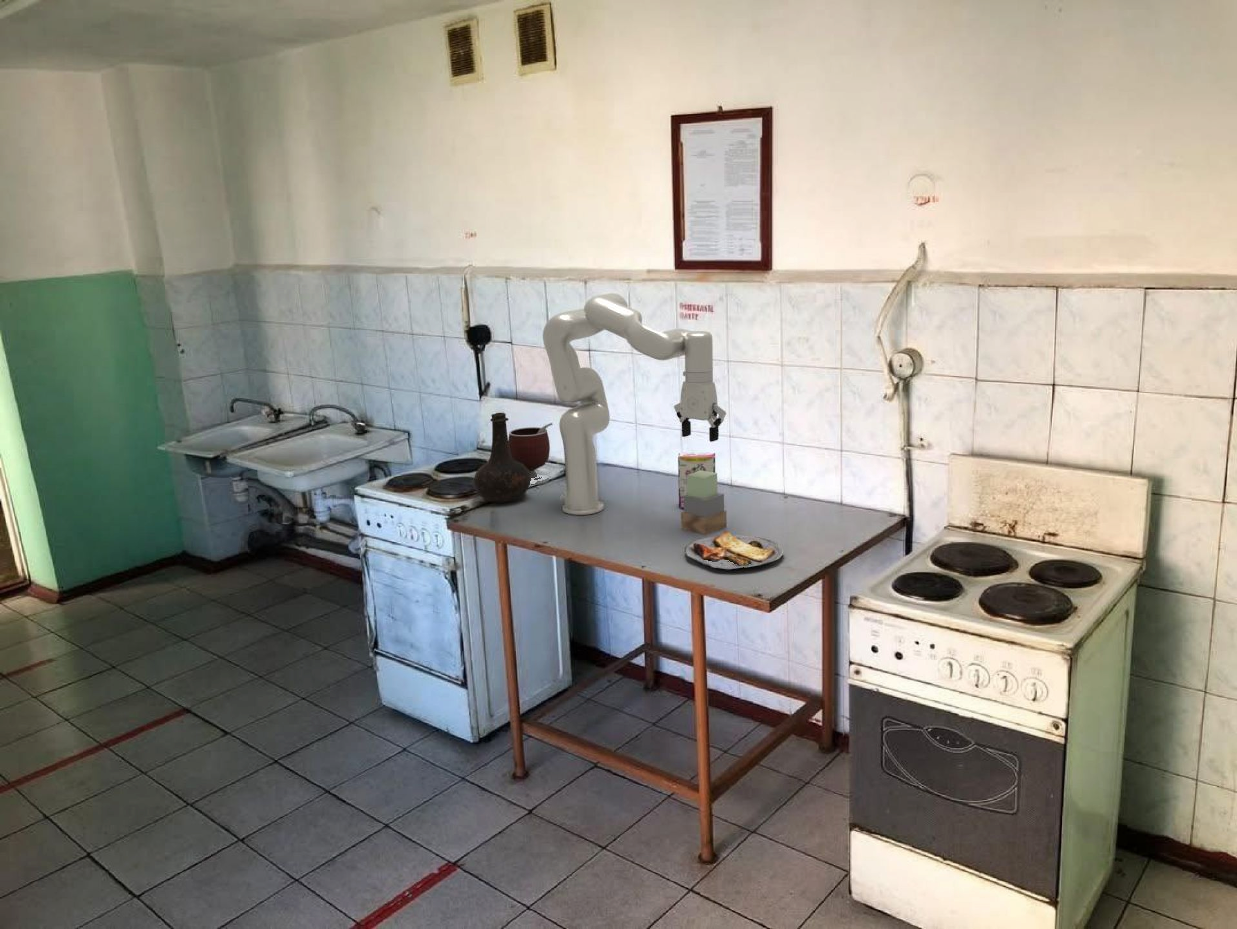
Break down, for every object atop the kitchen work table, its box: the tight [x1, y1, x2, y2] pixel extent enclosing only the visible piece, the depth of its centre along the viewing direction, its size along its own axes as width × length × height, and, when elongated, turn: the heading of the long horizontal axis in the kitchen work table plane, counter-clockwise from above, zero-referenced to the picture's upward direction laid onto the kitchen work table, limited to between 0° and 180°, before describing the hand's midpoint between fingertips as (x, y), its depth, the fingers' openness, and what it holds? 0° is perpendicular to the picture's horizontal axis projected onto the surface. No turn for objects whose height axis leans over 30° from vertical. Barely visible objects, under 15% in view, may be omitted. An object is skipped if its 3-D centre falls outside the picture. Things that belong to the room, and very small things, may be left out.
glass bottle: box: [473, 412, 531, 504], centre depth 317 cm, size 18×18×28 cm
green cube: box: [687, 470, 719, 499], centre depth 280 cm, size 6×6×6 cm
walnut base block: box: [680, 509, 728, 536], centre depth 282 cm, size 9×9×5 cm
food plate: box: [684, 530, 784, 570], centre depth 259 cm, size 25×23×4 cm
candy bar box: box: [677, 452, 716, 509], centre depth 301 cm, size 11×5×16 cm, turn 84°
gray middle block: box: [683, 492, 725, 518], centre depth 281 cm, size 8×8×5 cm
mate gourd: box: [508, 422, 554, 485], centre depth 338 cm, size 16×14×20 cm
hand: (700, 438), depth 276 cm, fingers open, 9 cm apart
